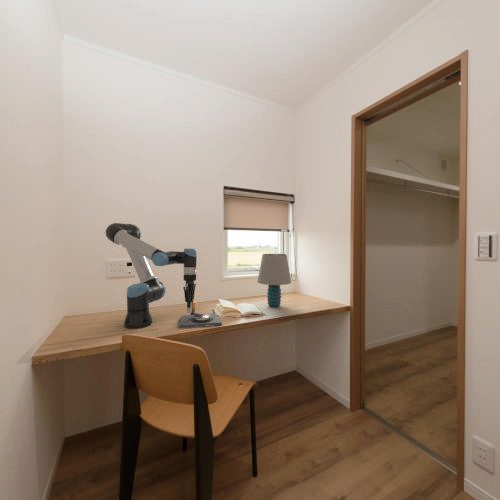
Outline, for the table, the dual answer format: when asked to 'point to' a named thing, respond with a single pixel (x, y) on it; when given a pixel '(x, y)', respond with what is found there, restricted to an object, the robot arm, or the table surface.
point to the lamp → (274, 276)
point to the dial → (199, 314)
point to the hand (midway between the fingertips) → (189, 312)
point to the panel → (190, 322)
